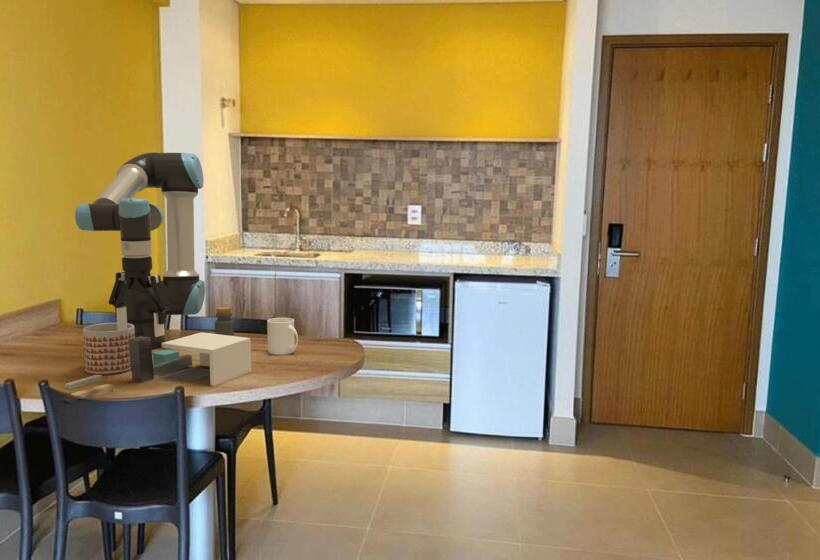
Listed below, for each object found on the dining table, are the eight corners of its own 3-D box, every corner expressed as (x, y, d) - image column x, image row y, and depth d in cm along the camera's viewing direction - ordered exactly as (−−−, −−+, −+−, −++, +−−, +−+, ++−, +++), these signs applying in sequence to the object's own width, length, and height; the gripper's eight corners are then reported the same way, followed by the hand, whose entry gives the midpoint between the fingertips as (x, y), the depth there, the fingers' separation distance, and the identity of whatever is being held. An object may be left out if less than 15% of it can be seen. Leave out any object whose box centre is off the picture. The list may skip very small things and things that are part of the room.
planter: (103, 378, 184) (101, 333, 183) (75, 371, 192) (72, 328, 190) (146, 367, 196) (144, 325, 194) (117, 361, 203) (115, 320, 201)
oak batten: (70, 404, 162) (69, 397, 162) (64, 403, 164) (63, 395, 163) (113, 392, 173) (113, 385, 173) (107, 391, 174) (107, 383, 174)
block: (153, 369, 192) (153, 352, 192) (167, 365, 196) (167, 349, 196) (165, 372, 190) (164, 355, 189) (179, 368, 194) (178, 351, 193)
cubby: (162, 378, 184) (161, 343, 183) (202, 365, 199) (201, 332, 197) (214, 387, 177) (212, 349, 176) (251, 372, 192) (250, 338, 190)
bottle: (238, 352, 215) (236, 307, 213) (226, 356, 210) (224, 309, 208) (223, 350, 218) (222, 305, 216) (211, 354, 213) (210, 308, 211)
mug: (288, 358, 208) (287, 325, 207) (262, 352, 215) (261, 320, 214) (307, 353, 215) (307, 320, 214) (281, 347, 222) (281, 316, 221)
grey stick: (65, 389, 175) (64, 383, 175) (96, 380, 184) (96, 374, 184) (70, 390, 174) (70, 384, 174) (102, 381, 183) (101, 375, 183)
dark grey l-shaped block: (132, 381, 182) (128, 339, 179) (185, 363, 197) (182, 324, 194) (141, 383, 180) (137, 341, 177) (194, 365, 195) (191, 326, 192)
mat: (133, 372, 190) (133, 371, 190) (162, 364, 200) (162, 362, 200) (193, 382, 181) (193, 381, 181) (220, 372, 191) (220, 371, 191)
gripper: (91, 254, 179) (96, 331, 182) (161, 260, 169) (165, 341, 172) (114, 252, 186) (118, 325, 189) (182, 257, 176) (185, 335, 179)
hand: (140, 333), depth 181 cm, fingers open, 13 cm apart
